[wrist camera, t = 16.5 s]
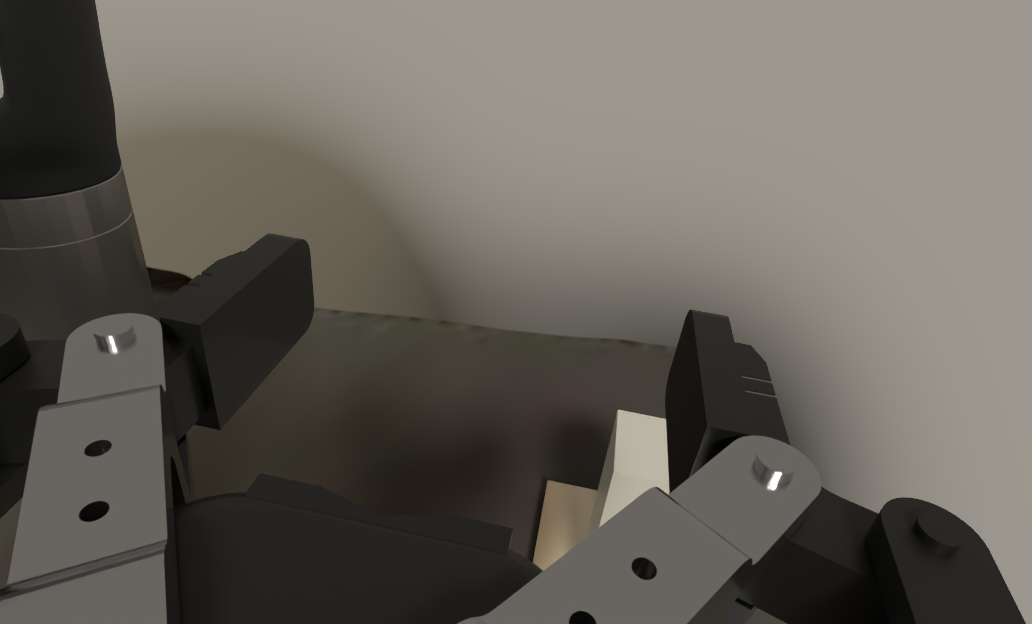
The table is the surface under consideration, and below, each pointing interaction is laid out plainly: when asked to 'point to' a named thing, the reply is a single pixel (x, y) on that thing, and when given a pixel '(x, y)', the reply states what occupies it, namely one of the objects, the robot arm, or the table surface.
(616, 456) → the block
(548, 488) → the pin dock
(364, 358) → the table surface
